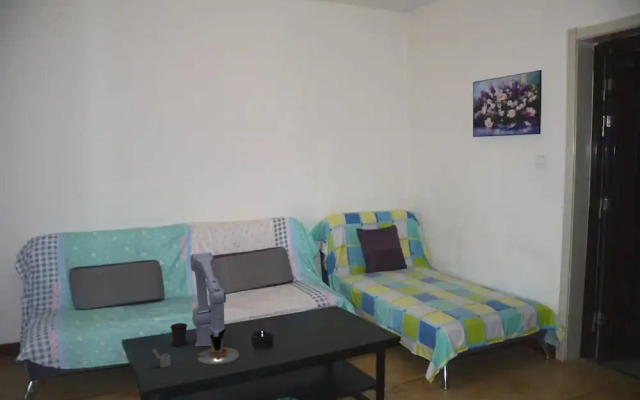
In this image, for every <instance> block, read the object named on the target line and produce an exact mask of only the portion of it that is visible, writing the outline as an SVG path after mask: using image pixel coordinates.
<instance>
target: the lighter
mask: <svg viewBox="0 0 640 400" xmlns="http://www.w3.org/2000/svg"><path fill="white" fill-rule="evenodd" d="M152 352H153V354H154V355H155V357H156V359H157V360H159V362H160V363H159V364H160V368H167V367H171V364H172V363H171V354H168V353H167V352H166V353H162V355H160V354H159V352H158V351H157V349H156V348H154V349H153V350H152Z"/></svg>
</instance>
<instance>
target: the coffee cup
mask: <svg viewBox="0 0 640 400" xmlns="http://www.w3.org/2000/svg"><path fill="white" fill-rule="evenodd" d="M187 327H188V324H187V323H184V322H178V323H174V324H171V325H170V329H171V336H172V343H173V346H174V347H182V346H185V345H186V339H187V338H186V337H187V336H186V335H187Z"/></svg>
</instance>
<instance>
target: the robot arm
mask: <svg viewBox="0 0 640 400" xmlns="http://www.w3.org/2000/svg"><path fill="white" fill-rule="evenodd" d="M189 260H190V269H191V271H192V272H193V273H194V275H195V285H196V286H195V287H196V296H197V306H195V308H194V309H193V310H192V324H193V326H195V327H196V328H195V329H196V342H195V345H194V347H211V340H212V342H213V345H214V349H215V351H219V350H220V346H221V340H222V338H223V339H224V333H225V331H226V330H227V329H226V327H225V303H226V301H227V296H226V291H225V290H224V288H221V285H220V283H219V280H218V278H217V277H215V274H214V270H213V265H214V255H213V253H212V252H210V251H209V252H203V253H192V254H191V255H190V259H189Z"/></svg>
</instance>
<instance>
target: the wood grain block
mask: <svg viewBox="0 0 640 400" xmlns="http://www.w3.org/2000/svg"><path fill="white" fill-rule="evenodd" d="M223 348H224V337H223V338H222V340H221V346H220V350H219V351H215V349H214V345H213V342H212V340H211V346H210V349H211V353H223Z"/></svg>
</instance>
